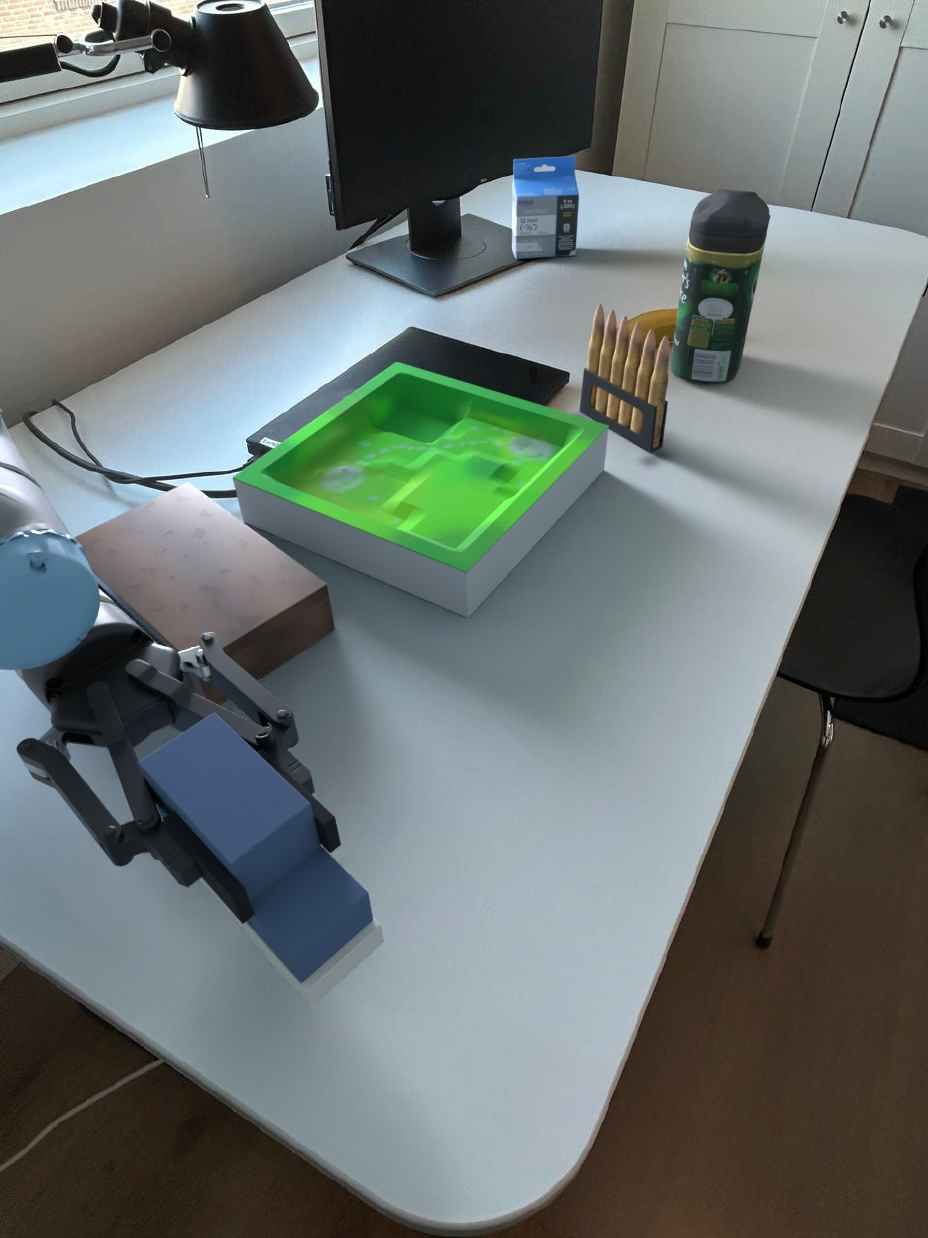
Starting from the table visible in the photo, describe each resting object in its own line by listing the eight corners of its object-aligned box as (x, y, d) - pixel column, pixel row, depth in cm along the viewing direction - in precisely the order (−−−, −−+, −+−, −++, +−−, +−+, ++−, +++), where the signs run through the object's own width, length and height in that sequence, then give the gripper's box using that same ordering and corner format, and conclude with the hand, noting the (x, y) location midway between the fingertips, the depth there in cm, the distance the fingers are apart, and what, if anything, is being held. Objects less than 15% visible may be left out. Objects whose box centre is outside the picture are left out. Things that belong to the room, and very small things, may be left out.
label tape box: (514, 260, 125) (516, 167, 117) (511, 249, 128) (512, 157, 120) (575, 257, 125) (581, 164, 117) (571, 246, 128) (576, 154, 120)
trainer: (311, 1008, 47) (283, 927, 41) (171, 847, 54) (129, 758, 48) (384, 942, 49) (369, 856, 43) (241, 797, 57) (211, 705, 50)
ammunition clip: (578, 410, 95) (586, 303, 87) (591, 405, 96) (600, 298, 88) (650, 453, 89) (666, 342, 81) (663, 446, 90) (680, 336, 81)
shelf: (210, 711, 65) (194, 665, 62) (81, 588, 76) (61, 542, 72) (335, 629, 71) (327, 583, 68) (200, 526, 82) (187, 481, 78)
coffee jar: (675, 344, 106) (700, 179, 93) (742, 352, 104) (778, 185, 91) (662, 382, 99) (687, 211, 86) (734, 392, 97) (771, 218, 84)
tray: (468, 618, 72) (466, 571, 69) (243, 521, 82) (232, 477, 79) (604, 469, 87) (608, 425, 84) (399, 403, 97) (396, 361, 94)
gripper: (205, 620, 65) (420, 806, 53) (-37, 762, 56) (155, 1026, 44) (181, 540, 60) (413, 726, 47) (-91, 682, 51) (110, 957, 38)
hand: (289, 869), depth 46 cm, fingers closed on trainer, 5 cm apart
